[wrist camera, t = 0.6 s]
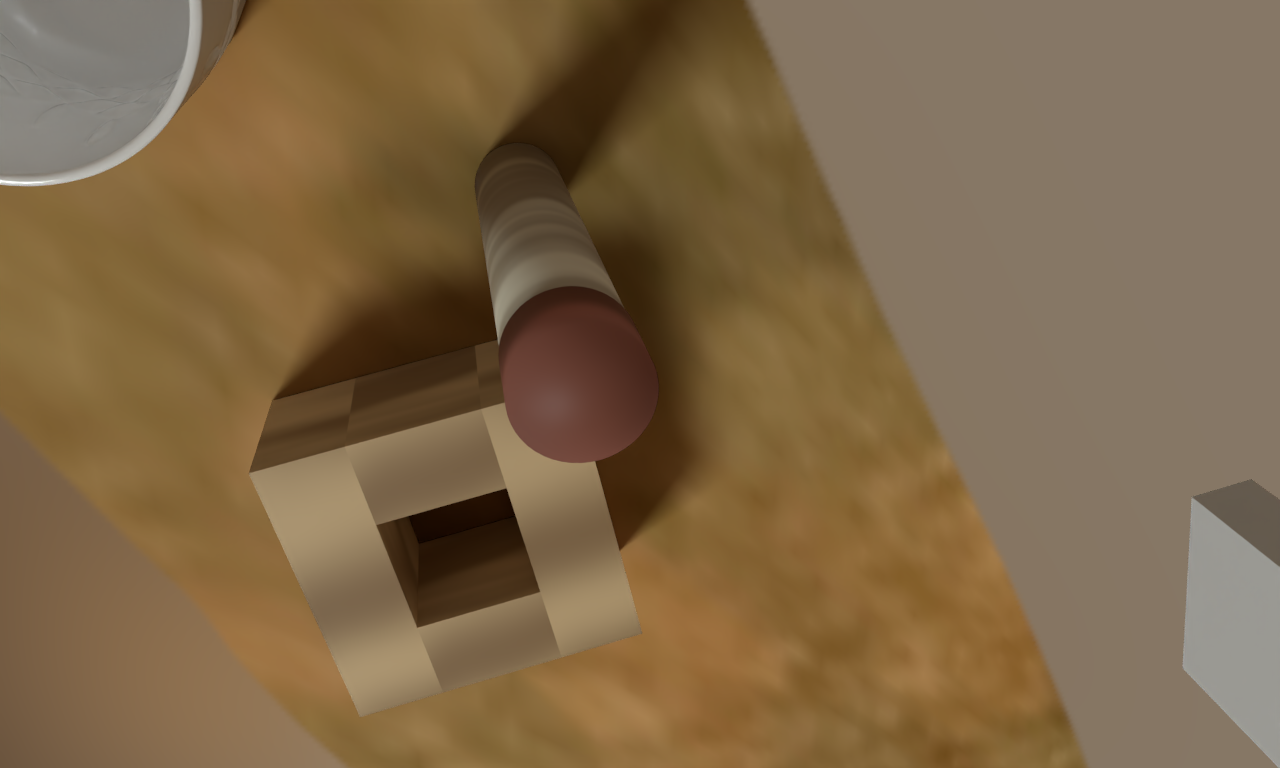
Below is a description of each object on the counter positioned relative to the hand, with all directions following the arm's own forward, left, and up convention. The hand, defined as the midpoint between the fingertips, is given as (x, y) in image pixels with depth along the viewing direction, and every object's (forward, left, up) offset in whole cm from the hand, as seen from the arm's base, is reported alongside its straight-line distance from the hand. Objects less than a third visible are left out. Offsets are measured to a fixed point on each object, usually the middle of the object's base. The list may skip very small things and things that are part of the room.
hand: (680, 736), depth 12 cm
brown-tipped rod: (-1, 0, -24) cm, 24 cm away
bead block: (+9, -5, -24) cm, 26 cm away
